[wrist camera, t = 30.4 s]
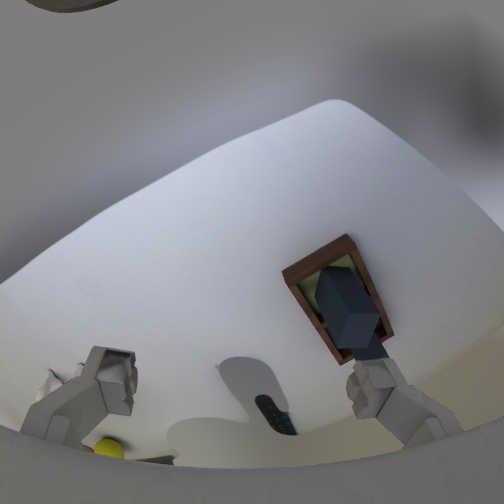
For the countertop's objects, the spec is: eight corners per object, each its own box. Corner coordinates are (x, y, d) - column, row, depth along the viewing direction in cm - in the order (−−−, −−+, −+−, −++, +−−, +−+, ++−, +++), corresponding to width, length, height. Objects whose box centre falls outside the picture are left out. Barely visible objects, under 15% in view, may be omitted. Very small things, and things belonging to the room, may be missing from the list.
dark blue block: (321, 265, 42) (349, 313, 33) (348, 267, 43) (381, 313, 33) (313, 296, 45) (336, 348, 35) (339, 297, 45) (367, 347, 35)
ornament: (93, 440, 59) (85, 474, 50) (102, 429, 57) (93, 466, 48) (120, 451, 61) (114, 485, 52) (130, 441, 59) (125, 478, 50)
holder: (281, 271, 43) (285, 282, 40) (345, 233, 42) (354, 242, 39) (334, 353, 51) (340, 366, 48) (387, 323, 49) (394, 335, 47)
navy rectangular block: (335, 318, 47) (359, 369, 37) (358, 305, 46) (387, 353, 36) (346, 338, 49) (370, 387, 39) (368, 325, 48) (395, 373, 38)
